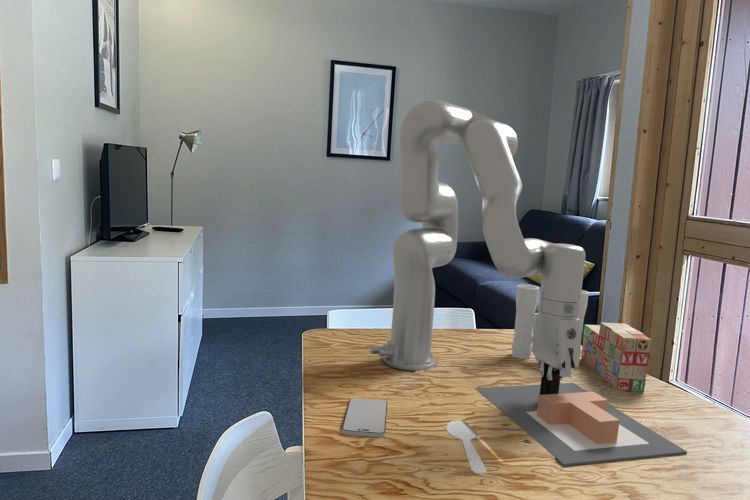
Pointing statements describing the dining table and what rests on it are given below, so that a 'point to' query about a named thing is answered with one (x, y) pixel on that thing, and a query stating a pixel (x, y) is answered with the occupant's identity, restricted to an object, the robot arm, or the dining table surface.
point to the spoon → (467, 443)
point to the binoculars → (533, 319)
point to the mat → (571, 442)
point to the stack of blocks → (617, 354)
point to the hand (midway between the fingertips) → (548, 396)
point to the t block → (580, 414)
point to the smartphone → (365, 417)
